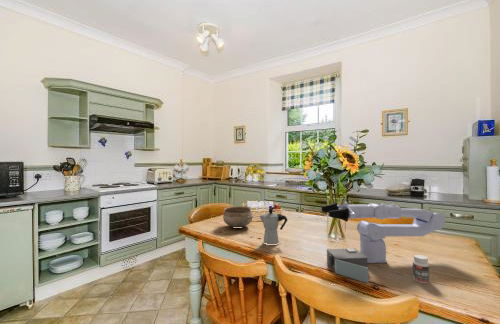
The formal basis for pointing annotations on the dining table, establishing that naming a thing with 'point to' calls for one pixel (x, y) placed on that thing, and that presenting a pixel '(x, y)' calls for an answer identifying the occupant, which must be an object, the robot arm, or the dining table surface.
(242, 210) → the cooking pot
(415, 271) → the pill bottle
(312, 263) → the dining table surface
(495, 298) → the dining table surface
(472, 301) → the dining table surface
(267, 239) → the coffee maker
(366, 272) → the side door
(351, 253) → the camera housing
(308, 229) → the dining table surface
